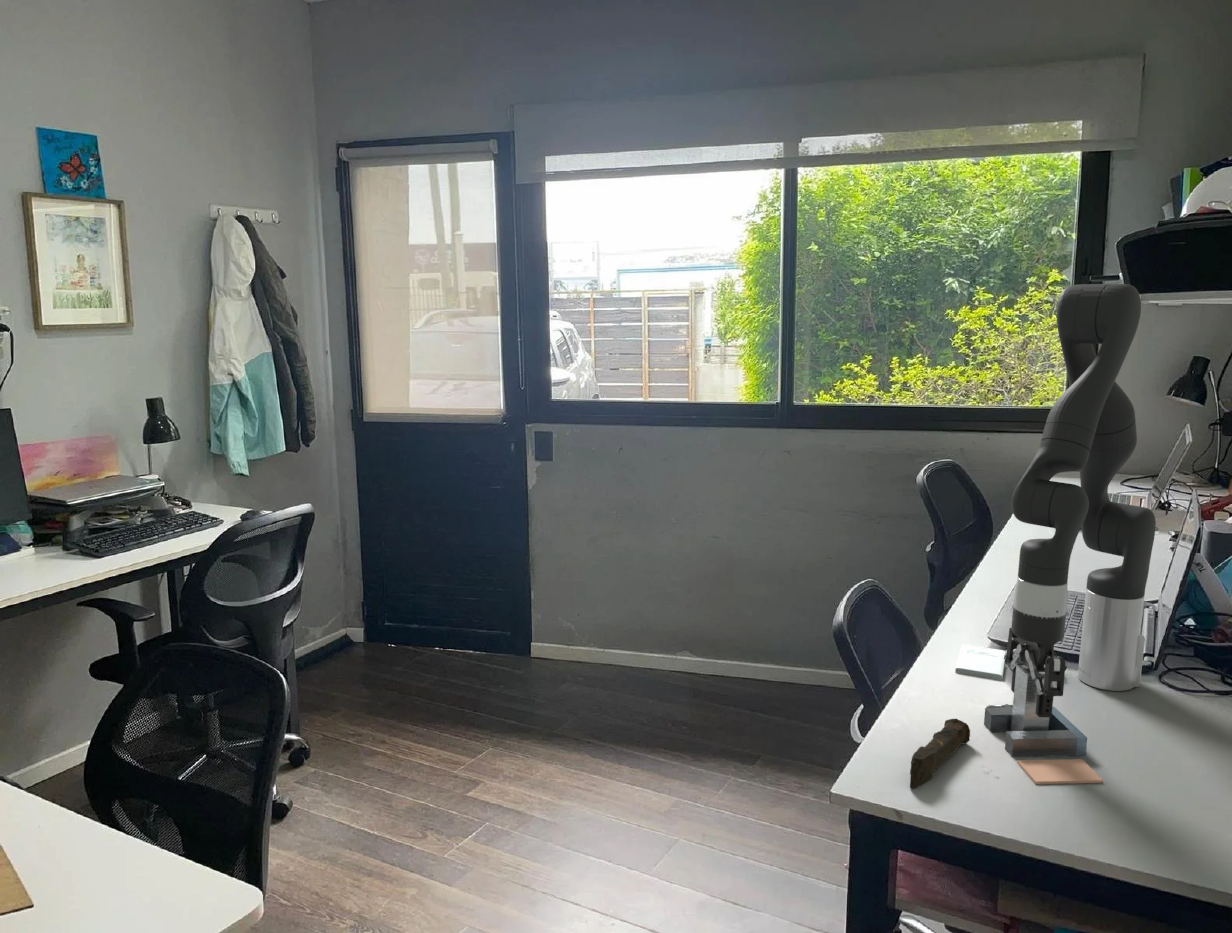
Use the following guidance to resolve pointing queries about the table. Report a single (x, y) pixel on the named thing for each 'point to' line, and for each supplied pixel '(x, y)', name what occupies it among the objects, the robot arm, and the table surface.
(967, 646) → the external hard drive
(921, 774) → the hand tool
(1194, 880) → the table surface
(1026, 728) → the steel bar
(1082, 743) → the vise
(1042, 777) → the mat
